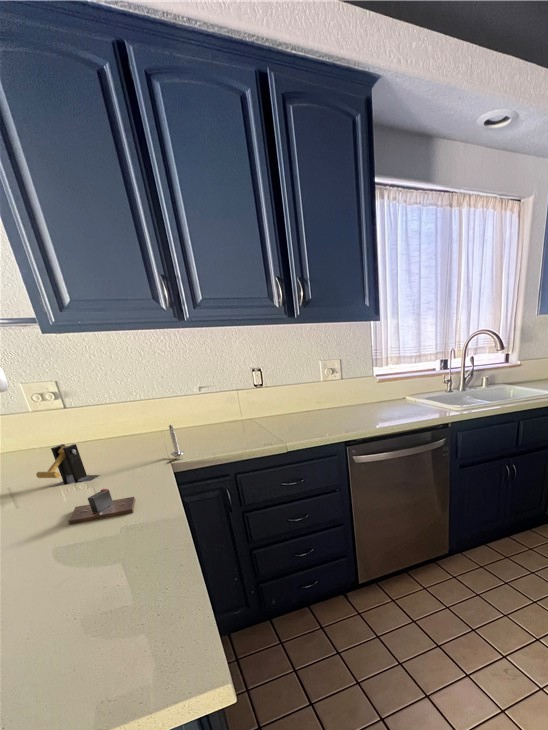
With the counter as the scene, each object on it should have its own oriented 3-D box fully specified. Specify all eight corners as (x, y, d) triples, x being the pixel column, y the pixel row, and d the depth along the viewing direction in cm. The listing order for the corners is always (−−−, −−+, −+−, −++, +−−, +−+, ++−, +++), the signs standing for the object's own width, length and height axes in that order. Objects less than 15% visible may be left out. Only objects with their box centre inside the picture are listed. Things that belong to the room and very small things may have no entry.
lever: (58, 479, 129) (52, 474, 127) (40, 479, 129) (34, 474, 127) (78, 451, 136) (74, 445, 134) (61, 451, 137) (56, 445, 135)
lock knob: (98, 512, 109) (92, 497, 107) (92, 512, 109) (86, 497, 107) (113, 503, 114) (108, 488, 113) (107, 503, 115) (103, 488, 113)
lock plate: (72, 531, 106) (67, 520, 105) (79, 516, 115) (75, 506, 113) (135, 519, 112) (131, 508, 110) (137, 506, 120) (134, 495, 119)
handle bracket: (77, 490, 134) (63, 451, 129) (51, 490, 135) (35, 451, 129) (101, 478, 144) (89, 441, 138) (77, 478, 145) (63, 441, 139)
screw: (168, 460, 160) (178, 456, 164) (179, 460, 159) (188, 457, 163) (160, 425, 155) (169, 422, 159) (170, 426, 154) (180, 423, 158)
